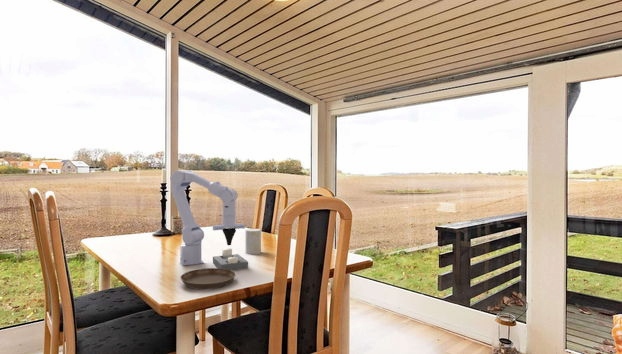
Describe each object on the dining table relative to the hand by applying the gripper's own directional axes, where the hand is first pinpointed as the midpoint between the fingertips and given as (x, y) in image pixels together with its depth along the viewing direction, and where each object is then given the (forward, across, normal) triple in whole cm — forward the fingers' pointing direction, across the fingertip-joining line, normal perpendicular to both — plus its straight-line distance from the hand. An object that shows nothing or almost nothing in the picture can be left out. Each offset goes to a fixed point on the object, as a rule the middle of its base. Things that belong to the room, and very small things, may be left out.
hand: (229, 244), depth 171 cm
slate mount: (+9, 0, -1) cm, 9 cm away
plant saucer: (+10, -14, -22) cm, 28 cm away
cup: (+10, +18, +20) cm, 28 cm away
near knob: (+9, 0, -6) cm, 11 cm away
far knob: (+7, 0, +4) cm, 8 cm away
